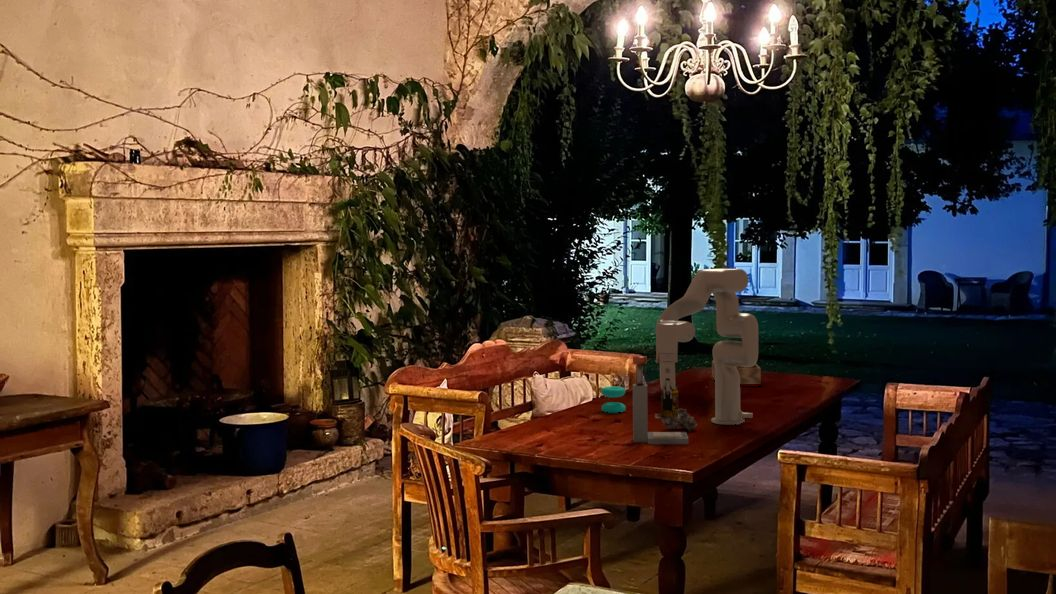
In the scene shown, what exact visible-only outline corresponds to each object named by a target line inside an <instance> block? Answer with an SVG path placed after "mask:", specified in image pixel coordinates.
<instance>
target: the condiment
mask: <svg viewBox="0 0 1056 594" xmlns="http://www.w3.org/2000/svg"><path fill="white" fill-rule="evenodd" d="M675 388H676V390H675V391H674V389H672V387H671V390H672V410H663V399H664V392H663V391H664V390H662V389H661V392H660V413H655V414H654V418H655V419H661V418H680V417H679V414H678V409H679V390H678V383H676V382H675ZM665 390H666V389H665Z"/></svg>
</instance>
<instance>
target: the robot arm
mask: <svg viewBox="0 0 1056 594" xmlns="http://www.w3.org/2000/svg"><path fill="white" fill-rule="evenodd" d="M748 285H749V276H748V273H747V272H746V271H745V269H742V268H704V269H700V270H698V271H697V272H696V273H695V275H694V276H693V278H692V281H691V282H690V283H689V286H688V288H687V290H686V292H685V293H684V295H683V296H682V297H680V298H679V299H678V300H675V301H674V302H673V303H672V304H670V305H668V306H667V307H666V308H665V309H664V310H663V311H662V312H661V315H660V317H659V318H658V320H657V322H656V324H655V332H654V333H655V338H656V339H655V357H656V358H655V361H656V363H659V383H660V389H661V391H662V390H664V391H663V392H664V399H663V410H672V390H671V387H672V389H674V391H675V390H676V388H675V383H676V363H678V362H679V360H678V357H679V355H678V352H679V351H678V350H679V348H678V345H679V343H688V342H691V340H693V338H694V337H695V335H696V328H695V326H694V324H693V323H692V322H690V321H687V320H686V321H685V320H679V319H682V318H685V317H687V316H691V315H693V314H697V313H699V312H701V311H703V310H704V309H705V307H706V305H707V303H708V301H709V300H710V297H711V296H712V295H713V297H714V300H715V306H716V307H715V308H716V309H715V312H716V314H715V315H716V319H715V320H716V321H715V322H716V325H715V326H716V332H717V334H718V335H719V336H721V337H724V338H734V339H735V338H736V339H741V341H740V340H739V341H736V340H720V341H718V342H716V343H715V344H714V345H713V347H712V351H711V353H712V354H711V355H712V359H713V360H712V361H714V366H715V382H714V385H715V386H714V388H715V389H714V397H715V400H714V403H715V404H714V408H715V409H714V410H715V415H714V416H715V417H712V418H711V419H710V421H711V423H713V424H717V425H725V426H726V425H727V426H728V425H729V426H733V425H734V426H735V424H736V425H742V424H744V423H745V418H747V419H752V418H753V417H754V416H753V415H754V414H753V412H743V411H742V409H741V387H740V375H739V372H738V370H737V369H736V367H735V366H741V367H752V366H754V365H755V364H757V362H758V360H759V359H758V358H759V323H758V320H757V318H756V316H755V315H754V314H751V313H747V312H740V306H739V304H740V303H739V297H738V295H737V293H738V292H740V293H741V292H743V291H745V289H747V287H748ZM665 389H666V390H665ZM743 422H744V423H743ZM741 423H742V424H741Z"/></svg>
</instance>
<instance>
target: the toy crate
mask: <svg viewBox="0 0 1056 594" xmlns="http://www.w3.org/2000/svg"><path fill="white" fill-rule="evenodd" d="M736 369H737V370H738V372H739V375H740V384H762V383H761V382H762V379H761V378H762V377H761V375H762V373H761V372H762V371H761V370H762V368H761V367H760V366H759V365H758V364H757V363H756V364H755V365H754V366H752V367H749V368H736ZM712 377H713V378H714V380H715V366H714V360H711V378H712Z"/></svg>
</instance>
